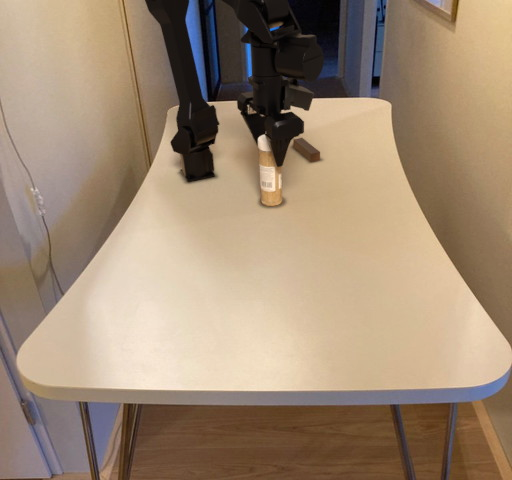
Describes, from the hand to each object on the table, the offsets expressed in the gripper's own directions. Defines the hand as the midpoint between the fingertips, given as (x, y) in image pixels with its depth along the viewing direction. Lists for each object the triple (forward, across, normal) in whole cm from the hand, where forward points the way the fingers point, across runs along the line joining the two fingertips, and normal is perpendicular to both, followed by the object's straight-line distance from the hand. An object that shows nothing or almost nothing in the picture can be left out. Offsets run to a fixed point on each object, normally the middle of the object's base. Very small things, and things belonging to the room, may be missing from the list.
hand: (270, 157), depth 108 cm
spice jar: (+10, 0, 0) cm, 10 cm away
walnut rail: (+9, +19, -17) cm, 27 cm away
